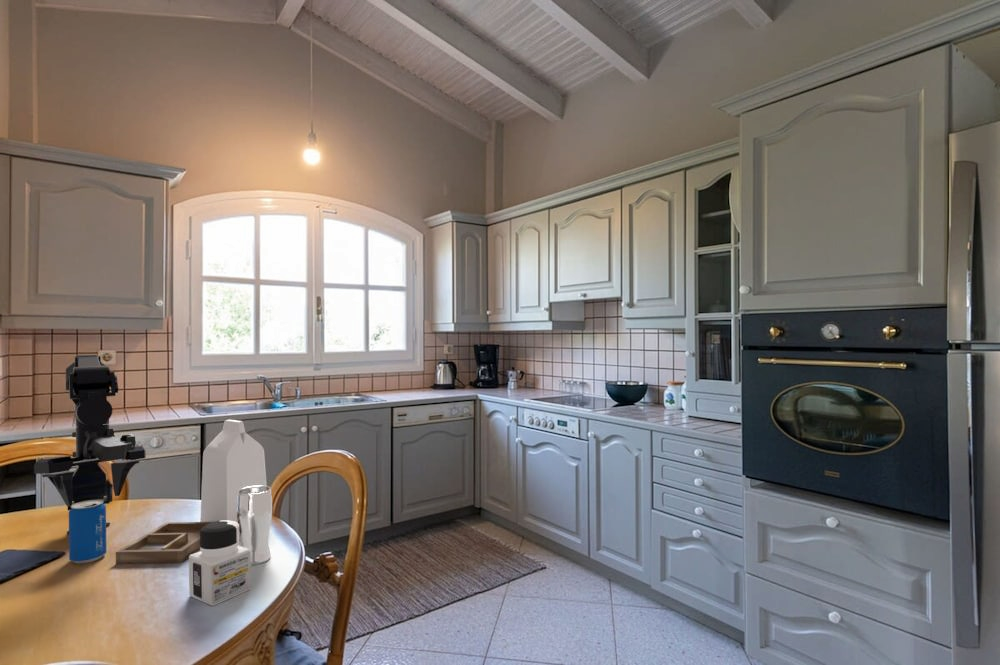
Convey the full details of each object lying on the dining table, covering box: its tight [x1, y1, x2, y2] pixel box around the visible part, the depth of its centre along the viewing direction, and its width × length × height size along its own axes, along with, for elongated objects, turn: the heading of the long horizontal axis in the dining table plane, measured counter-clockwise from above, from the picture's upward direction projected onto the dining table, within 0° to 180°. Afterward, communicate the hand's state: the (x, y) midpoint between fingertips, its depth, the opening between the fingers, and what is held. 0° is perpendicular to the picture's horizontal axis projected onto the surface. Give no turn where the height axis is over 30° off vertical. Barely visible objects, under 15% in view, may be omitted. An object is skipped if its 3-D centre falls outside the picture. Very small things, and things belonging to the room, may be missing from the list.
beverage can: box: [68, 500, 107, 565], centre depth 119 cm, size 6×6×12 cm
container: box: [188, 520, 252, 607], centre depth 103 cm, size 8×8×13 cm
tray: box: [115, 521, 212, 565], centre depth 125 cm, size 18×14×3 cm
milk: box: [199, 419, 268, 523], centre depth 142 cm, size 12×12×26 cm
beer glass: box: [237, 485, 273, 566], centre depth 118 cm, size 7×7×15 cm
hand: (94, 500), depth 115 cm, fingers open, 9 cm apart
